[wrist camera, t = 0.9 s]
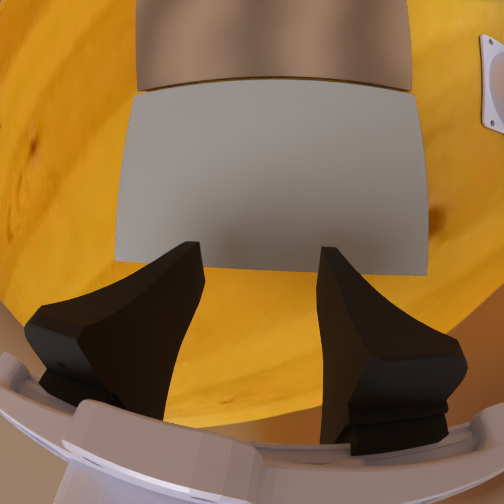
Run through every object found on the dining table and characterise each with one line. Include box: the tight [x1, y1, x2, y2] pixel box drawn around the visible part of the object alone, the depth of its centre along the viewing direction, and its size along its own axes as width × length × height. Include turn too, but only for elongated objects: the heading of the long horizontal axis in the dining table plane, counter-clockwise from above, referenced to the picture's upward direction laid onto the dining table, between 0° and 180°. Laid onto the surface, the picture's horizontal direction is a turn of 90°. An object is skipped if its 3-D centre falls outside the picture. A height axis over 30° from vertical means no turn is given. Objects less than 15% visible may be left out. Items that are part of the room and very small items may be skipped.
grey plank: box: [115, 80, 429, 276], centre depth 15 cm, size 18×11×1 cm, turn 91°
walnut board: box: [136, 0, 412, 91], centre depth 12 cm, size 18×9×1 cm, turn 91°
